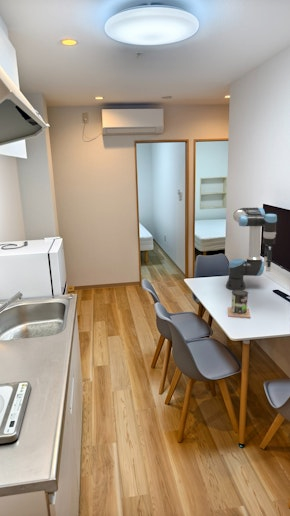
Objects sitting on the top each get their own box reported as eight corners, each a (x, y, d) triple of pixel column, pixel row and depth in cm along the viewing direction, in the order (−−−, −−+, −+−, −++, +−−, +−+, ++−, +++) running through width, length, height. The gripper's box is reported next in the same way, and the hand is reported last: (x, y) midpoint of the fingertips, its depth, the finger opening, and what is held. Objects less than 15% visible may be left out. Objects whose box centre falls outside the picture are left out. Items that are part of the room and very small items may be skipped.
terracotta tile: (227, 308, 240) (227, 307, 239) (248, 309, 237) (248, 308, 236) (228, 316, 226) (228, 315, 226) (250, 318, 223) (250, 316, 223)
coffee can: (250, 312, 230) (251, 292, 226) (240, 316, 224) (241, 296, 221) (237, 307, 238) (238, 288, 235) (227, 311, 232) (228, 291, 229)
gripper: (278, 241, 214) (275, 274, 219) (272, 234, 237) (270, 263, 243) (265, 241, 215) (263, 273, 221) (261, 234, 239) (259, 263, 244)
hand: (266, 268), depth 232 cm, fingers open, 13 cm apart
